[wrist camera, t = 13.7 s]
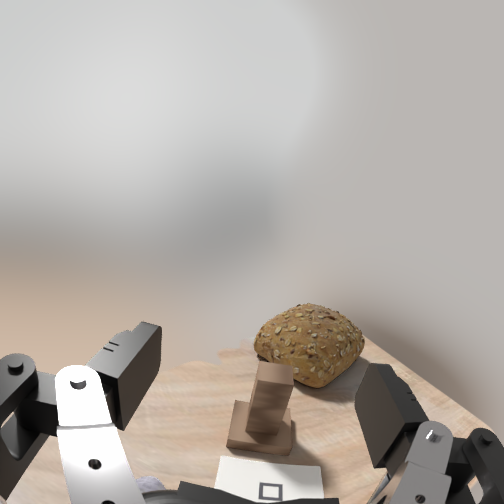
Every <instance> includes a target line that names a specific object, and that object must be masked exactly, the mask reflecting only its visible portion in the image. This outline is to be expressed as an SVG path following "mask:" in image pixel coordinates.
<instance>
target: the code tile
mask: <svg viewBox="0 0 504 504" xmlns="http://www.w3.org/2000/svg"><path fill="white" fill-rule="evenodd" d="M214 488H215V489H220V490H223V491H226V492H228V493H231V494H234V495H237V496H239V497H242V498H245V499H248V500H251V501H254V502H258V503H272V502H280V501H287V500H294V499H300V498H324V492H323V484H322V476H321V468H320V466H303V465H288V464H277V463H268V462H260V461H252V460H245V459H239V458H233V457H227V456H222V455H221V458H220V463H219V468H218V472H217V477H216V482H215V487H214Z"/></svg>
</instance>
